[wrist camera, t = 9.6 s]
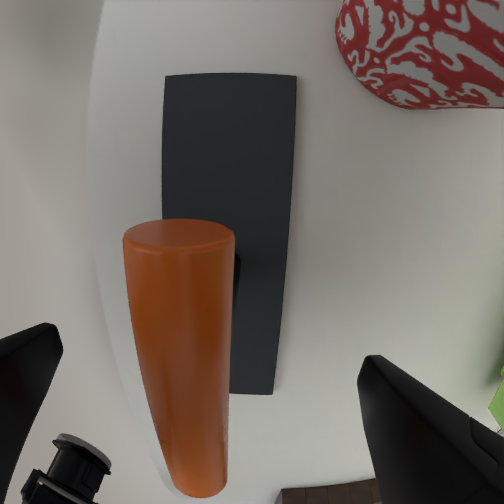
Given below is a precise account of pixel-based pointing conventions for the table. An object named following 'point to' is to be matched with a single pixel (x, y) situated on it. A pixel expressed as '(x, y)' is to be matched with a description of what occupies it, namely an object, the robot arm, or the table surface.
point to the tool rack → (333, 494)
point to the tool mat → (237, 194)
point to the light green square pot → (498, 404)
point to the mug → (426, 51)
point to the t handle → (185, 341)
